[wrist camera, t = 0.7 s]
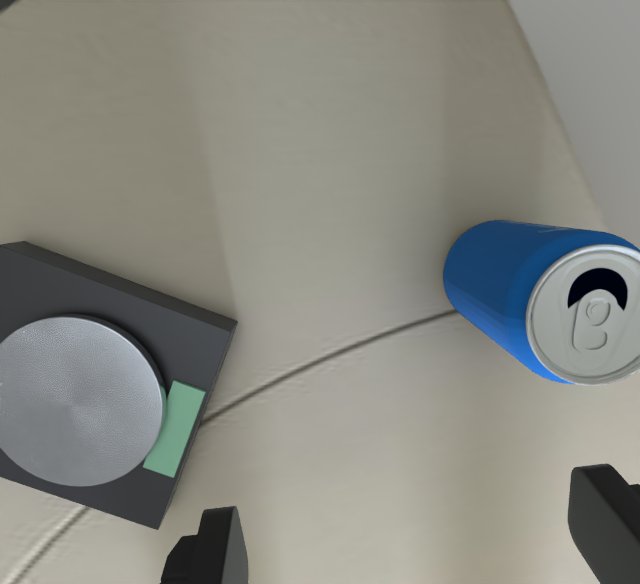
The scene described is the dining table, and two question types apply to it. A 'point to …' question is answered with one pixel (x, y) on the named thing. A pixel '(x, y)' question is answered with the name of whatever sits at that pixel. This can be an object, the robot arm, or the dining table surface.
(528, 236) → the beverage can
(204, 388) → the scale
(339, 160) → the dining table surface
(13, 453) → the scale pan
